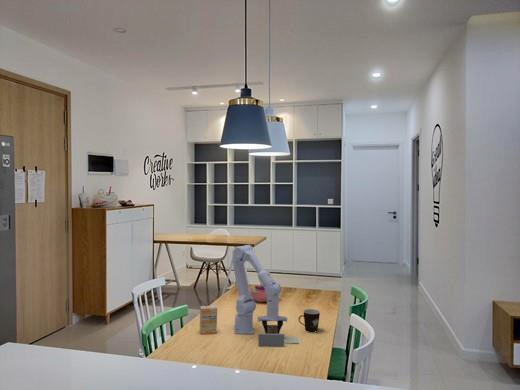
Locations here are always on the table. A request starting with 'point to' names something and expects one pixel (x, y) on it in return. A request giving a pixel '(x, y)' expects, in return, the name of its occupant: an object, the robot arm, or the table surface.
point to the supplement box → (208, 319)
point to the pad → (291, 340)
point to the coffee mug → (311, 319)
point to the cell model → (258, 293)
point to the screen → (271, 340)
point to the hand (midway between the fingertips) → (272, 335)
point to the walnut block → (272, 329)
